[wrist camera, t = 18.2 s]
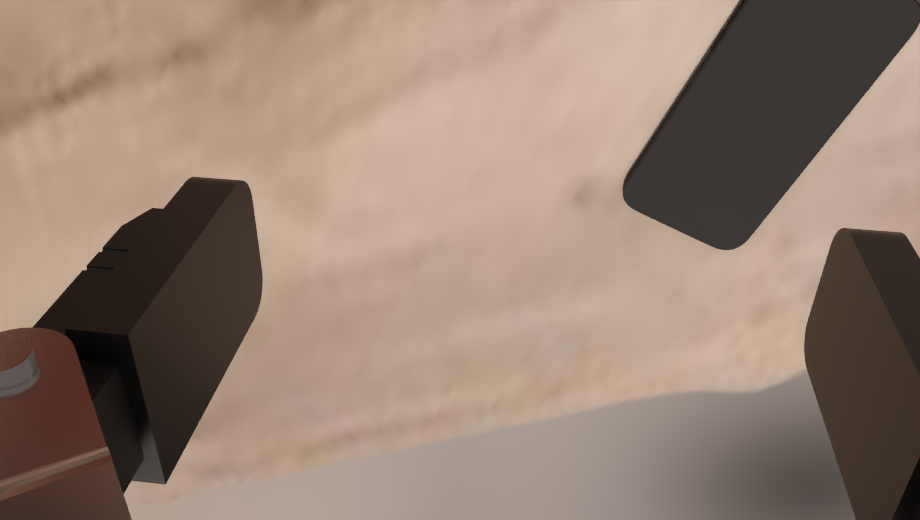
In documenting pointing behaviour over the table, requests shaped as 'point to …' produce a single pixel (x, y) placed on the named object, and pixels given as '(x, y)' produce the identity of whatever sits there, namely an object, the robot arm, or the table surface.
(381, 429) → the table surface
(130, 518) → the robot arm
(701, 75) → the phone
